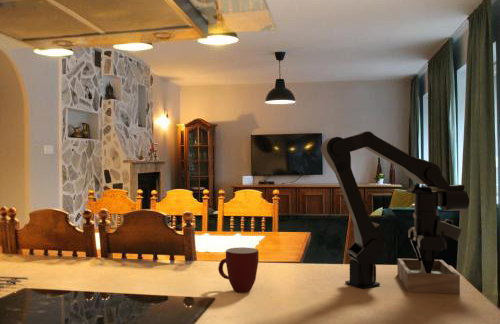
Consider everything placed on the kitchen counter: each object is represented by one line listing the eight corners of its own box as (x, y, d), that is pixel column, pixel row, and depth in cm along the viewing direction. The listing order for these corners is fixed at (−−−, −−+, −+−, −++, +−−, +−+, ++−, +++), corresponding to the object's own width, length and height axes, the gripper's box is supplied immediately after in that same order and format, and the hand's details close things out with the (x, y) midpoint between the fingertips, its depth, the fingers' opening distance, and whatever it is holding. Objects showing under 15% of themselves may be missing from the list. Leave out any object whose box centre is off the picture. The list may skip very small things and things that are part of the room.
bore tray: (459, 294, 113) (459, 275, 113) (407, 291, 115) (407, 273, 115) (442, 276, 130) (442, 259, 130) (397, 274, 132) (397, 258, 132)
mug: (211, 292, 114) (211, 251, 114) (223, 284, 121) (223, 246, 121) (252, 296, 110) (252, 254, 110) (262, 288, 118) (262, 248, 118)
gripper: (469, 215, 112) (469, 280, 112) (449, 207, 130) (449, 264, 130) (420, 214, 114) (420, 278, 114) (408, 207, 132) (407, 262, 132)
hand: (426, 270), depth 123 cm, fingers open, 6 cm apart
